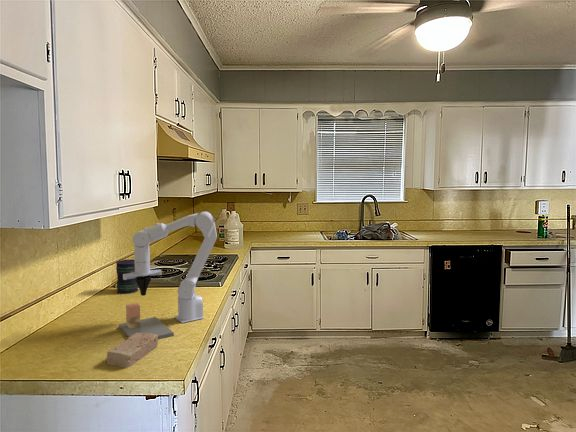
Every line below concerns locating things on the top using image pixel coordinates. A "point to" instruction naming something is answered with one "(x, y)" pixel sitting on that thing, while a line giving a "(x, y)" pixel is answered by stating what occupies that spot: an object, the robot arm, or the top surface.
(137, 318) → the maple block
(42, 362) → the top surface
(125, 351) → the brick
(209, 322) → the top surface
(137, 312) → the terracotta block
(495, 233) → the top surface
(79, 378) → the top surface
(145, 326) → the plate
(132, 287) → the storage jar
